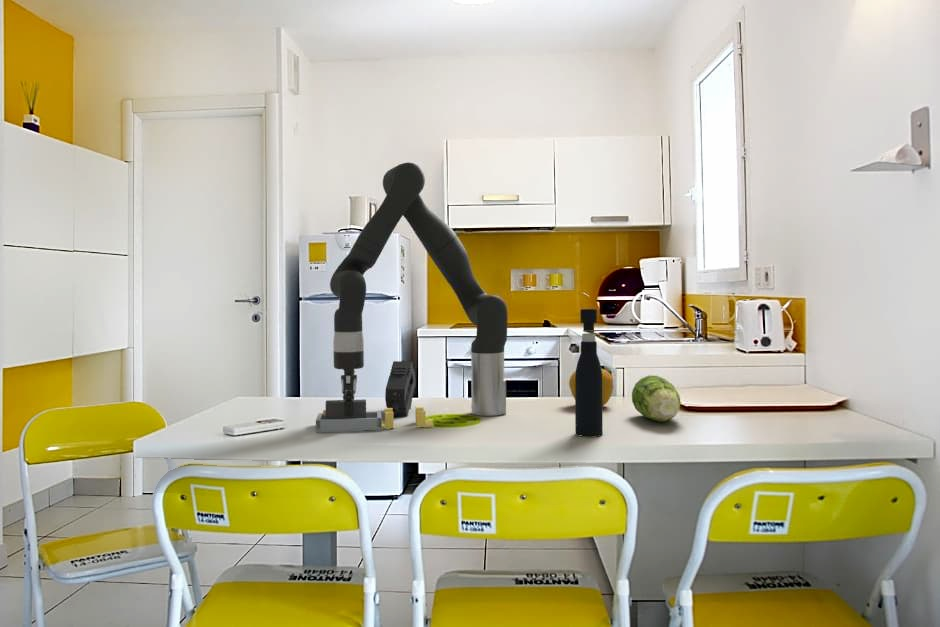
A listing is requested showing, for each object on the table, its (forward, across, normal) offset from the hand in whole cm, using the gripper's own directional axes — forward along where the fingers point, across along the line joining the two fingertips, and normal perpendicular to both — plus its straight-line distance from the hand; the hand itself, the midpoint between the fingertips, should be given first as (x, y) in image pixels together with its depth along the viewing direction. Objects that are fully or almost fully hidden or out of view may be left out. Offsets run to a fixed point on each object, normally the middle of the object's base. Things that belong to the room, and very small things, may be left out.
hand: (349, 413), depth 178 cm
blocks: (+4, 0, -14) cm, 14 cm away
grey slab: (+3, 0, +1) cm, 3 cm away
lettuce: (+4, -6, -80) cm, 80 cm away
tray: (+4, 0, 0) cm, 4 cm away
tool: (+4, +18, -14) cm, 24 cm away
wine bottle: (+4, -18, -57) cm, 60 cm away
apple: (+4, +20, -70) cm, 73 cm away
